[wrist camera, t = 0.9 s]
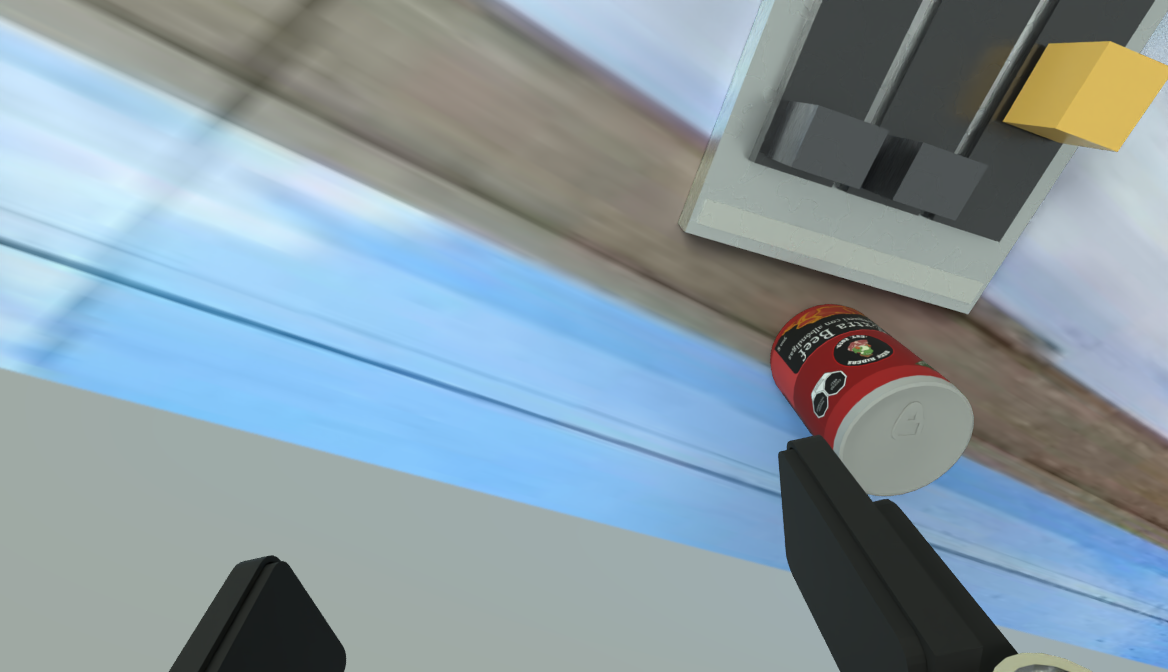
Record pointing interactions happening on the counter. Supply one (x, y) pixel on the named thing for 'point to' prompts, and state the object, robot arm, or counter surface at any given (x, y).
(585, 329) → the counter surface
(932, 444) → the canned food
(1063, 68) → the mustard yellow cube
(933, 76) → the panel
